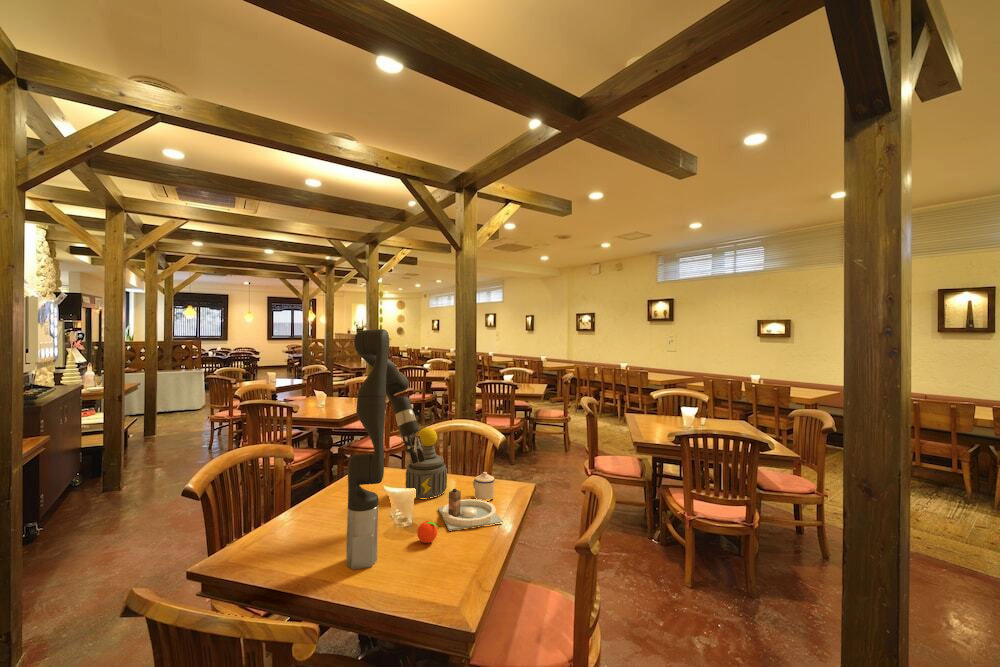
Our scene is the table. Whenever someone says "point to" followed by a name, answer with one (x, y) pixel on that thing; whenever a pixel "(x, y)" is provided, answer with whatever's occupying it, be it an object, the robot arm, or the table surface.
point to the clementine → (427, 532)
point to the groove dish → (470, 514)
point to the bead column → (454, 502)
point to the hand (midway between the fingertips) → (419, 462)
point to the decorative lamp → (427, 469)
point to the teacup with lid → (484, 486)
